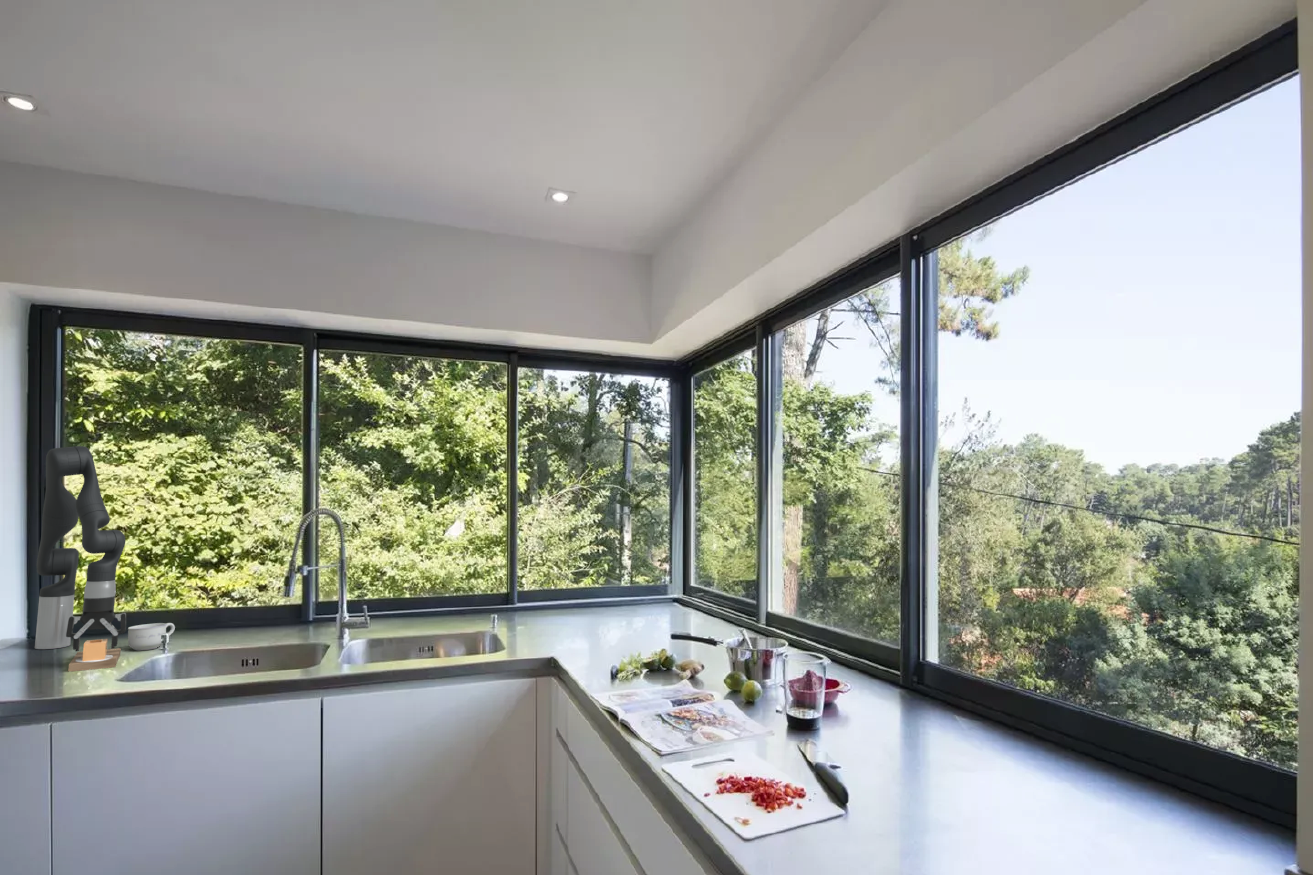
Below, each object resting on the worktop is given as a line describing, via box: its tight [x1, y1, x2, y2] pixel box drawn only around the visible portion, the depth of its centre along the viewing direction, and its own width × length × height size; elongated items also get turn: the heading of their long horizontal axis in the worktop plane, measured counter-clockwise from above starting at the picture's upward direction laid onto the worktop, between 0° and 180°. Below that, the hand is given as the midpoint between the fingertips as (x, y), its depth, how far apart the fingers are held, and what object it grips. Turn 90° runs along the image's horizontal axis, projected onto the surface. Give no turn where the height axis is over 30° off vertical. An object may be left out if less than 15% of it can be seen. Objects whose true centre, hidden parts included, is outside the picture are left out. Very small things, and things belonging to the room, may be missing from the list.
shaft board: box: [67, 647, 122, 672], centre depth 218 cm, size 20×11×5 cm, turn 34°
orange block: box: [82, 638, 109, 661], centre depth 214 cm, size 7×5×5 cm
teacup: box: [127, 622, 176, 651], centre depth 240 cm, size 14×11×8 cm
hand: (95, 649), depth 214 cm, fingers open, 8 cm apart
